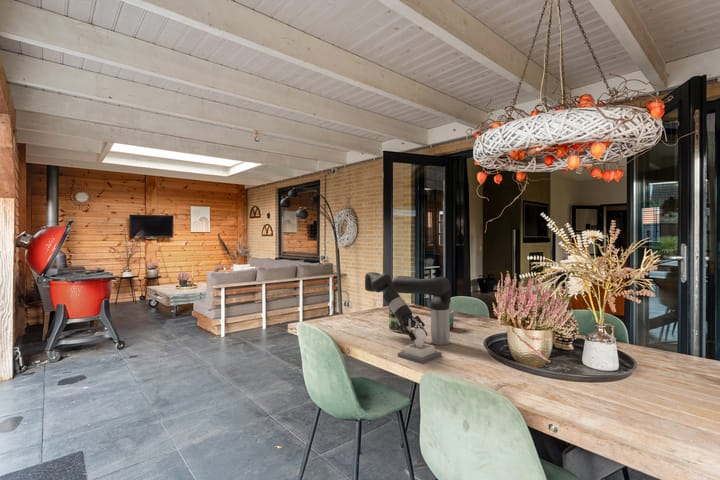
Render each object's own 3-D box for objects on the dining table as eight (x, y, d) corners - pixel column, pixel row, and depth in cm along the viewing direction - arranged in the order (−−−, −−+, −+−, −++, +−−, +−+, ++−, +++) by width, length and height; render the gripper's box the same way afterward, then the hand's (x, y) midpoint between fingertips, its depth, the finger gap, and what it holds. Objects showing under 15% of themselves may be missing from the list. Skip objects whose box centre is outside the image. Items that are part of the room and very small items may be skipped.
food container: (447, 331, 208) (446, 314, 208) (438, 330, 212) (437, 312, 212) (459, 328, 216) (459, 310, 216) (450, 326, 221) (450, 309, 220)
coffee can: (390, 332, 210) (390, 307, 210) (387, 327, 220) (386, 304, 220) (408, 331, 211) (408, 306, 211) (404, 326, 221) (403, 303, 221)
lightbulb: (417, 355, 163) (416, 330, 162) (409, 351, 168) (408, 327, 168) (429, 353, 165) (428, 328, 165) (421, 349, 171) (420, 325, 171)
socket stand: (397, 356, 167) (397, 346, 167) (416, 349, 176) (416, 340, 176) (423, 363, 157) (422, 353, 157) (441, 355, 166) (441, 345, 166)
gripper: (405, 311, 181) (425, 339, 173) (386, 316, 171) (405, 346, 163) (414, 302, 177) (434, 330, 169) (394, 306, 167) (415, 336, 159)
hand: (420, 337), depth 166 cm, fingers open, 8 cm apart
